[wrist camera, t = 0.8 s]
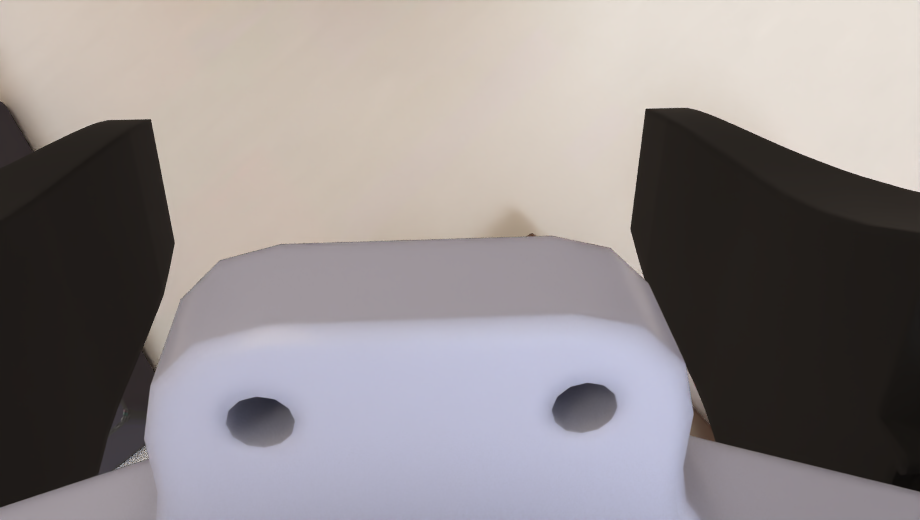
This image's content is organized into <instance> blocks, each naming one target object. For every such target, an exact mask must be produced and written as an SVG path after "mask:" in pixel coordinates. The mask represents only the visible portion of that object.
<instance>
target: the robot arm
mask: <svg viewBox="0 0 920 520" xmlns="http://www.w3.org/2000/svg"><path fill="white" fill-rule="evenodd" d="M631 233H632V237H633V240H634V244H635V248H636V252H637V255H638V259H639V262H640V265H641V269H642V272H643V275H644V279H645V280H644V279H643V278H642V277H641V276H640V275H639V274H638V273H637V272H636V271H635V270H634V269H632V268H631V267H630V266H629V265H628V264H627V263H626V262H625V261H624V260H623V259H622V258H621V257H620V256H618V255H617V254H616V253H615V252H614V251H613V250H612V249H611V248H608V247H603V246H598V245H594V244H589V243H584V242H579V241H574V240H569V239H565V238H560V237H555V236H530V237H497V238H465V239H432V240H400V241H367V242H335V243H302V244H279V245H276V246H272V247H268V248H264V249H261V250H257V251H253V252H249V253H246V254H242V255H238V256H234V257H230V258H227V259H223V260H219V262H218V263H217V264H216V265H215V266H214V267H213V268H212V269H211V270H210V271H209V272H208V273H207V274H206V275H205V276H204V277H203V278H202V279H201V280H200V281H199V282H198V283H197V284H196V285H195V286H194V287H193V288H192V289H191V290H190V291H189V292H188V293H187V294H186V295H185V296H184V297H183V298H182V299H181V300H180V303H179V306H178V309H177V311H176V314H175V317H174V320H173V323H172V326H171V329H170V331H169V334H168V337H167V340H166V343H165V346H164V349H163V351H162V354H161V357H160V360H159V363H158V366H157V368H156V371H155V374H154V377H153V380H152V383H151V386H150V393H149V401H148V409H147V418H146V426H145V435H144V441H145V445H146V449H147V453H148V457H149V459H146V460H143V461H140V462H137V463H134V464H131V465H128V466H125V467H122V468H119V469H116V470H113V471H110V472H107V473H104V474H101V475H98V474H99V470H100V466H101V463H102V459H103V455H104V451H105V447H106V443H107V440H108V436H109V432H110V430H111V427H112V424H113V421H114V418H115V415H116V412H117V409H118V407H119V404H120V402H121V399H122V397H123V394H124V392H125V389H126V387H127V385H128V382H129V380H130V377H131V375H132V372H133V370H134V368H135V365H136V363H137V360H138V358H139V355H140V353H141V351H142V348H143V346H144V343H145V341H146V338H147V336H148V333H149V331H150V328H151V326H152V323H153V321H154V318H155V316H156V313H157V311H158V308H159V306H160V303H161V300H162V298H163V295H164V291H165V287H166V282H167V278H168V274H169V269H170V264H171V259H172V254H173V249H174V244H175V242H174V237H173V231H172V226H171V221H170V216H169V211H168V206H167V200H166V195H165V190H164V185H163V180H162V175H161V169H160V164H159V159H158V154H157V149H156V144H155V138H154V133H153V128H152V123H151V119H145V120H107V121H103V122H98V123H95V124H93V125H90V126H87V127H85V128H83V129H80V130H78V131H76V132H74V133H72V134H69V135H67V136H65V137H63V138H61V139H59V140H57V141H55V142H53V143H51V144H49V145H47V146H45V147H43V148H41V149H39V150H37V151H35V152H33V153H31V154H29V155H26V156H24V157H22V158H20V159H18V160H16V161H14V162H12V163H10V164H8V165H6V166H3V167H1V168H0V520H920V192H916V191H912V190H907V189H904V188H900V187H896V186H893V185H890V184H886V183H883V182H879V181H876V180H872V179H869V178H865V177H862V176H859V175H856V174H853V173H850V172H847V171H844V170H841V169H838V168H835V167H833V166H830V165H828V164H825V163H822V162H820V161H817V160H815V159H812V158H809V157H807V156H804V155H802V154H799V153H797V152H794V151H792V150H790V149H787V148H785V147H783V146H780V145H778V144H776V143H773V142H771V141H769V140H767V139H764V138H762V137H760V136H758V135H755V134H753V133H751V132H749V131H747V130H744V129H742V128H740V127H738V126H735V125H733V124H731V123H729V122H726V121H724V120H722V119H719V118H717V117H714V116H712V115H709V114H707V113H704V112H701V111H698V110H694V109H689V108H660V109H646V111H645V119H644V127H643V134H642V142H641V150H640V158H639V166H638V174H637V182H636V189H635V197H634V205H633V213H632V221H631ZM686 367H687V368H686ZM687 369H688V371H689V373H690V375H691V377H692V379H693V381H694V384H695V386H696V388H697V391H698V393H699V396H700V398H701V400H702V403H703V405H704V408H705V411H706V414H707V417H708V420H709V423H710V426H711V429H712V432H713V435H714V438H715V441H716V442H714V441H710V440H706V439H701V438H697V437H693V436H689V435H690V430H691V425H692V420H693V415H694V413H693V407H692V400H691V394H690V387H689V381H688V374H687Z"/></svg>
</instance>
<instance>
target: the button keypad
mask: <svg viewBox="0 0 920 520" xmlns="http://www.w3.org/2000/svg"><path fill="white" fill-rule="evenodd" d="M31 153H33V151H32V149H31V148H30V146H29V144H28V143H27V141H26V139H25V138H24V136H23V134H22V133H21V131H20V129H19V128H18V126H17V124H16V122H15V121H14V119H13V117H12V116H11V114H10V112H9V111H8V109H7V107H6V106H5V105H4V104H3V103H2V102H0V168H1V167H3V166H6V165H8V164H10V163H12V162H14V161H16V160H18V159H20V158H22V157H24V156H26V155H29V154H31ZM154 374H155V373H154V371H153V369H152V368H151V366H150V364H149V363H148V361H147V359H146V358H145V356H144V354H143V352H142V351H141V353H140V355H139V358H138V360H137V363H136V365H135V368H134V370H133V372H132V375H131V377H130V380H129V382H128V385H127V387H126V389H125V392H124V394H123V397H122V399H121V402H120V404H119V407H118V409H117V412H116V415H115V418H114V421H113V424H112V427H111V430H110V432H109V436H108V440H107V443H106V447H105V451H104V455H103V459H102V463H101V466H100V470H99V474H98V475H101V474H104V473H107V472H110V471H113V470H114V469H115V468H117V467H118V466H119V465H121V464H122V463H123V462H124V461H126V460H127V459H128V458H130V457H131V456H132V455H133V454H135V453H136V452H137V451H139V450H140V449H141V448H142V447H144V446H145V441H144V435H145V426H146V418H147V409H148V401H149V393H150V386H151V383H152V380H153V377H154Z"/></svg>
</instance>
